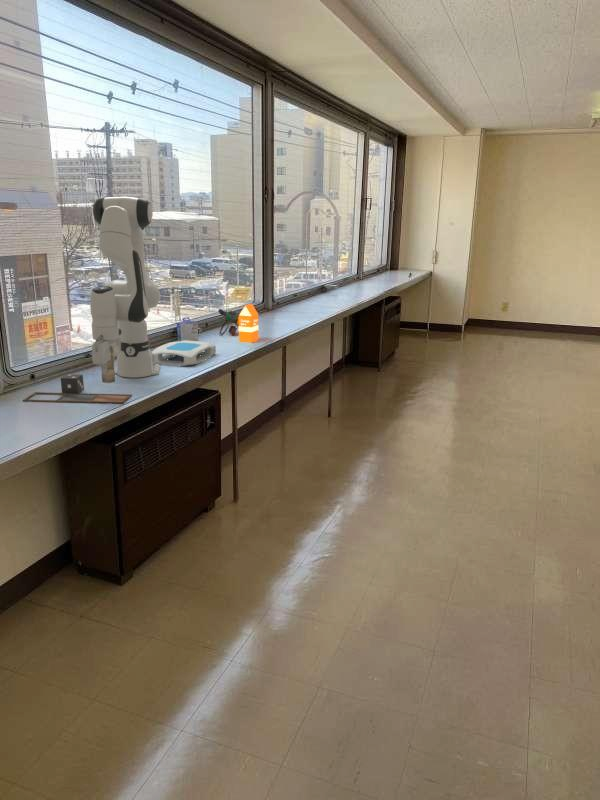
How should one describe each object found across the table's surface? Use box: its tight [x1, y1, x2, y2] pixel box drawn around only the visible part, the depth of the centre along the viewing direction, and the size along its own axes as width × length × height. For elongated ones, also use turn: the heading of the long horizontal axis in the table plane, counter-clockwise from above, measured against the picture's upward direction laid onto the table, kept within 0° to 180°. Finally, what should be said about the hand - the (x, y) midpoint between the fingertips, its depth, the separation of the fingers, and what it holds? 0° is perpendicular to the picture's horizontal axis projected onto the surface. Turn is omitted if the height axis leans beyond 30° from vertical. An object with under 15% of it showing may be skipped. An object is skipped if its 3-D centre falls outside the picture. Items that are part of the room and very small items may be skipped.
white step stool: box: [151, 340, 217, 367], centre depth 279 cm, size 21×28×6 cm
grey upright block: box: [176, 316, 199, 342], centre depth 307 cm, size 10×6×14 cm, turn 124°
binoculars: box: [217, 308, 239, 337], centre depth 337 cm, size 14×14×15 cm
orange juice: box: [238, 303, 259, 344], centre depth 320 cm, size 8×9×20 cm
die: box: [60, 373, 85, 393], centre depth 224 cm, size 6×6×6 cm
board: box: [22, 391, 133, 405], centre depth 217 cm, size 10×36×1 cm, turn 89°
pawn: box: [100, 346, 116, 384], centre depth 212 cm, size 5×5×14 cm
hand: (108, 371), depth 213 cm, fingers closed on pawn, 4 cm apart
